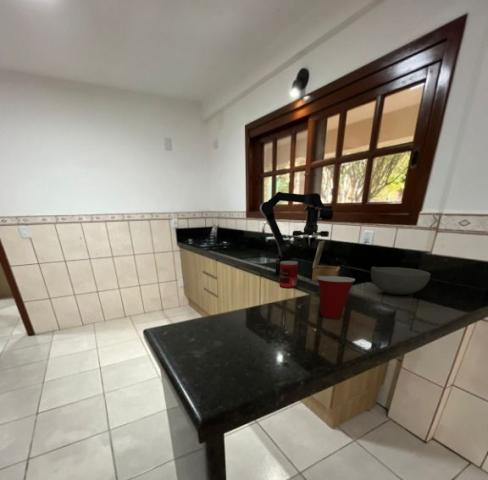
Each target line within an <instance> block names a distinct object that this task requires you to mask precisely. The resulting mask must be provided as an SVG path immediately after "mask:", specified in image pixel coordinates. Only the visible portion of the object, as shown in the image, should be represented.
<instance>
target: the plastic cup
mask: <svg viewBox="0 0 488 480" xmlns="http://www.w3.org/2000/svg"><path fill="white" fill-rule="evenodd" d="M317 279H318V281H317V284H318V291H319V304H320V314H321V316H322V317H324V318H326V319H340V318H341V317H342V315H343V311H344V309H345V307H346V303H347V301H348V297H349V294H350V292H351V289H352V286H353V284H354V282H355V281H356V279H355V278H353V277H347V276H339V277H337V276H318V277H317Z"/></svg>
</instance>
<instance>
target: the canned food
mask: <svg viewBox="0 0 488 480" xmlns="http://www.w3.org/2000/svg"><path fill="white" fill-rule="evenodd" d="M298 270H299V262H298V261H295V260H289V261H281V262H280V275H279V281H278V285H279V288H281V289H285V290H290V289H292V290H293V289H296V288H297V282H298Z"/></svg>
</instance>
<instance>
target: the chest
mask: <svg viewBox="0 0 488 480" xmlns="http://www.w3.org/2000/svg"><path fill="white" fill-rule="evenodd" d="M340 272H341V266H336V265H335V266H333V265H332V266H331V265H317V266H316V267H315V268H312V275H311V281H312V282H318V279H317V277H318V276H337V277H340Z"/></svg>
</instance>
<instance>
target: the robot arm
mask: <svg viewBox="0 0 488 480" xmlns="http://www.w3.org/2000/svg"><path fill="white" fill-rule="evenodd" d="M279 202H290V203H299V204H302V205H306V206H305V207H304V208H303V209H302V210H303V211H305V212H306V219H305V226H304V228H303V231H302V230H293V231H292V235H291V236H292V237H301V236H302V239H304V240H305V244H306V246H307V247H306V248H307V250H308V251H311V249H312V247H313V245H314V243H315V241H316V239H318V238H319V236H320V237H321V238H328V237H330V231H329V230H320V231H319V224H318V219H319V220H320V221H331V220H332V219H333V217H334V209H333V205H328V206H325V204H324V203H323V201H322V197H321V195H320V193H318V192H313V193H305V194H303V193H292V192H282V191H277V192H275V193H274V195H273V196H272V197H271V198H270V199H268V200H267V201H264V202H262V203H261V204H260V205H259V212H260V214H261V215H262V216H263V218H264V219H265V221H266V222H267V225H268V226H269V229H270V231H271V234H272V236H273V238H274V240H275V242H276V245H277V250H278V255H277V256H276V257H275V273H274V275H279V276H280V262H281V261H291V260H292V258H293V256H294V255H293V253H294V251H293V250H292V247H291V245H290V244H288V243H286V241H285V240H284V237H283V235H282V232H281V230H280V227H279V226H278V225H279V224H278V222H277V221H276V218H275V211H274V207H275V206H276V205H278V203H279ZM310 236H311V237H310Z"/></svg>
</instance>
